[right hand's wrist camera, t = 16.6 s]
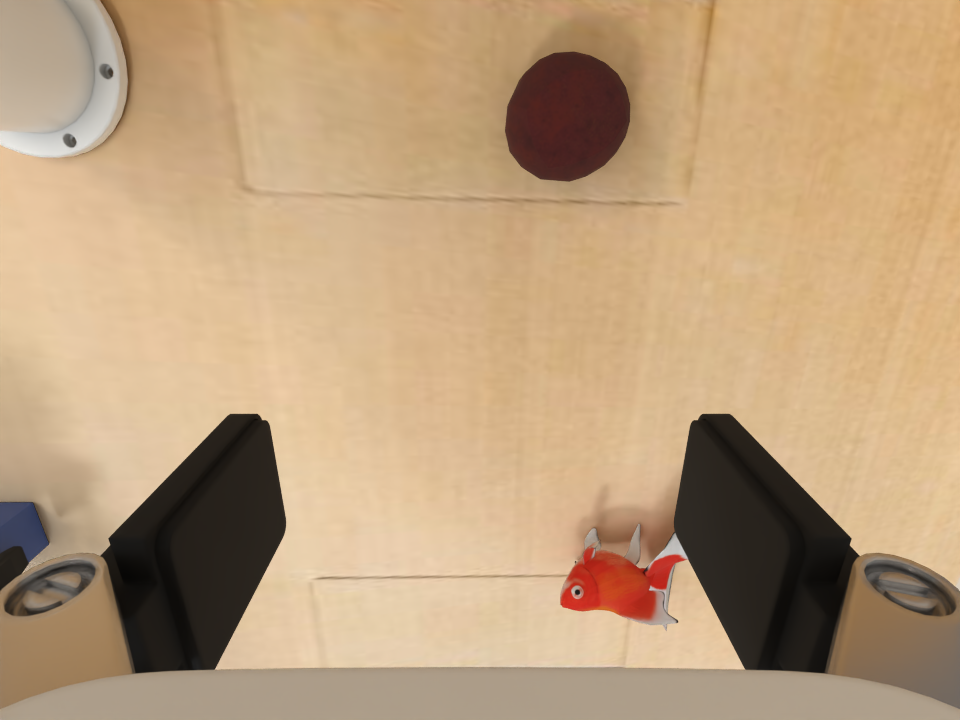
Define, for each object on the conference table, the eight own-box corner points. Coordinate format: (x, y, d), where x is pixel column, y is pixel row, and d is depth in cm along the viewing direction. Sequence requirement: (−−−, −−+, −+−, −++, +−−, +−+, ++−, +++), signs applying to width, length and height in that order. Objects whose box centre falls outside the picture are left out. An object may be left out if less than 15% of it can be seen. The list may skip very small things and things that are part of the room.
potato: (628, 145, 36) (662, 143, 29) (528, 198, 37) (539, 208, 31) (588, 37, 34) (614, 9, 27) (482, 98, 35) (483, 85, 28)
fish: (561, 502, 42) (632, 625, 35) (701, 463, 48) (783, 561, 42) (528, 567, 48) (582, 679, 42) (654, 525, 55) (718, 617, 48)
